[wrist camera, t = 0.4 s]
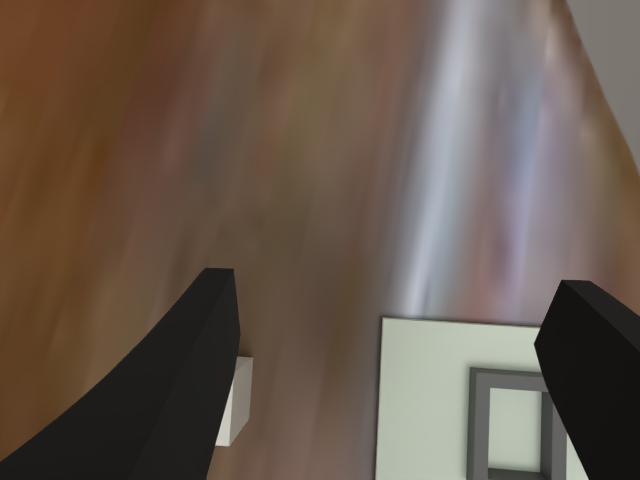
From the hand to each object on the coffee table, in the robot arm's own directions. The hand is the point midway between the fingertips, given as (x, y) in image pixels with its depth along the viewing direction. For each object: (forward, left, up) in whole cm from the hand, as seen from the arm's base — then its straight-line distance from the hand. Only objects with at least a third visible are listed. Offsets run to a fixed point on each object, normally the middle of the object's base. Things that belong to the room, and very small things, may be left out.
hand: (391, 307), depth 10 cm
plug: (-9, +11, -27) cm, 31 cm away
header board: (-10, -11, -27) cm, 31 cm away
